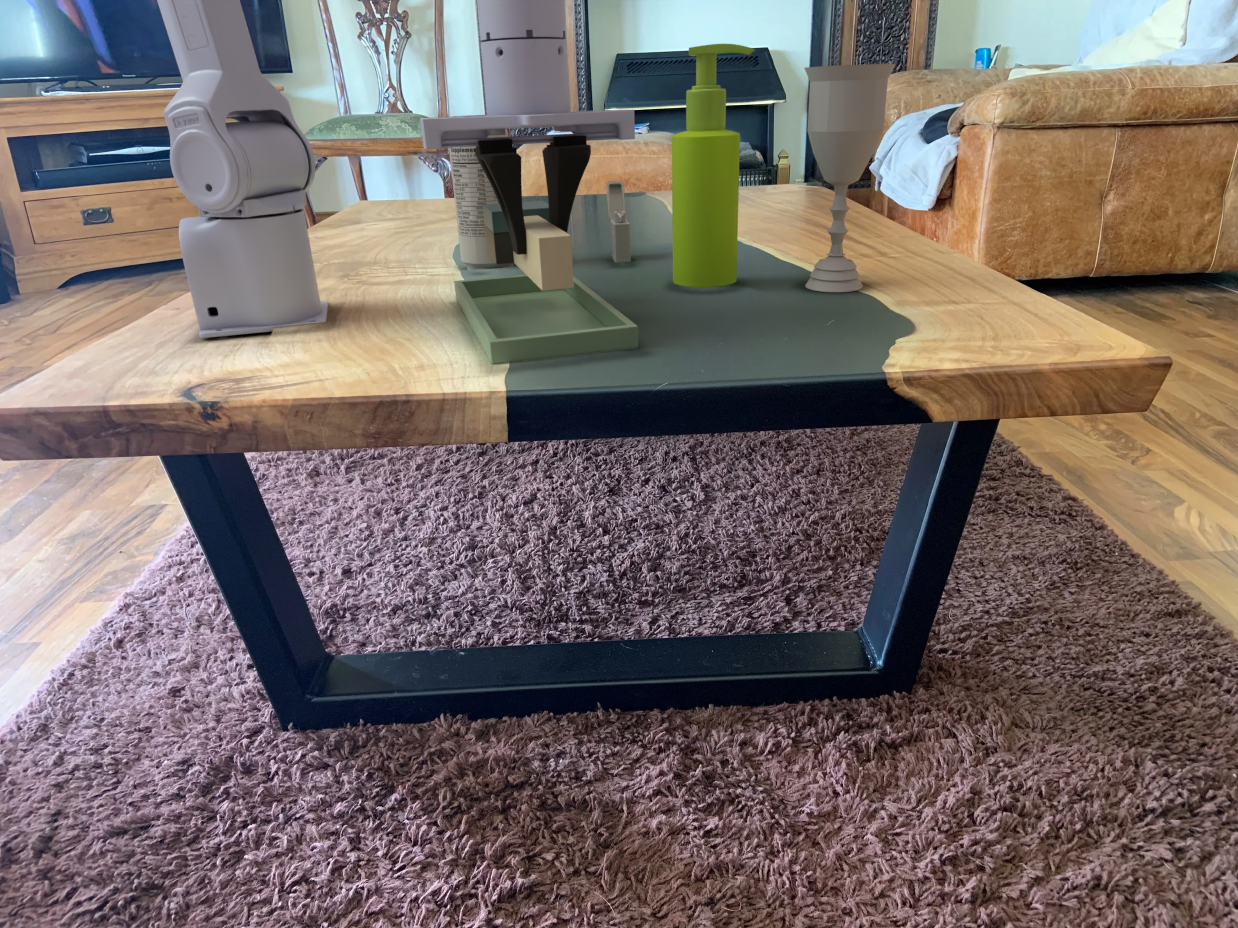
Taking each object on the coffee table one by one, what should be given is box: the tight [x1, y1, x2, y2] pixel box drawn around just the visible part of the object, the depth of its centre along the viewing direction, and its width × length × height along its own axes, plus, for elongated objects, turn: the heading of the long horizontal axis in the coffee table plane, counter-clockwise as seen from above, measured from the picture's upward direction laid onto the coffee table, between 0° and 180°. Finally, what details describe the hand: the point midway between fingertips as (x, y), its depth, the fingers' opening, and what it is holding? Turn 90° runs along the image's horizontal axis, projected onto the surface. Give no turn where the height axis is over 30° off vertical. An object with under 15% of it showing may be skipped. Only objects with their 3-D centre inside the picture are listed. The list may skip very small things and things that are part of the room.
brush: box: [483, 200, 574, 291], centre depth 62 cm, size 16×5×4 cm, turn 17°
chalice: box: [803, 63, 897, 293], centre depth 72 cm, size 7×7×18 cm
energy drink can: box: [448, 114, 515, 271], centre depth 86 cm, size 6×6×15 cm
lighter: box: [606, 180, 632, 263], centre depth 89 cm, size 7×2×8 cm, turn 6°
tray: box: [453, 274, 639, 366], centre depth 65 cm, size 21×10×2 cm, turn 17°
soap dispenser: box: [671, 43, 756, 288], centre depth 73 cm, size 6×7×20 cm
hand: (538, 251), depth 61 cm, fingers closed on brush, 2 cm apart
